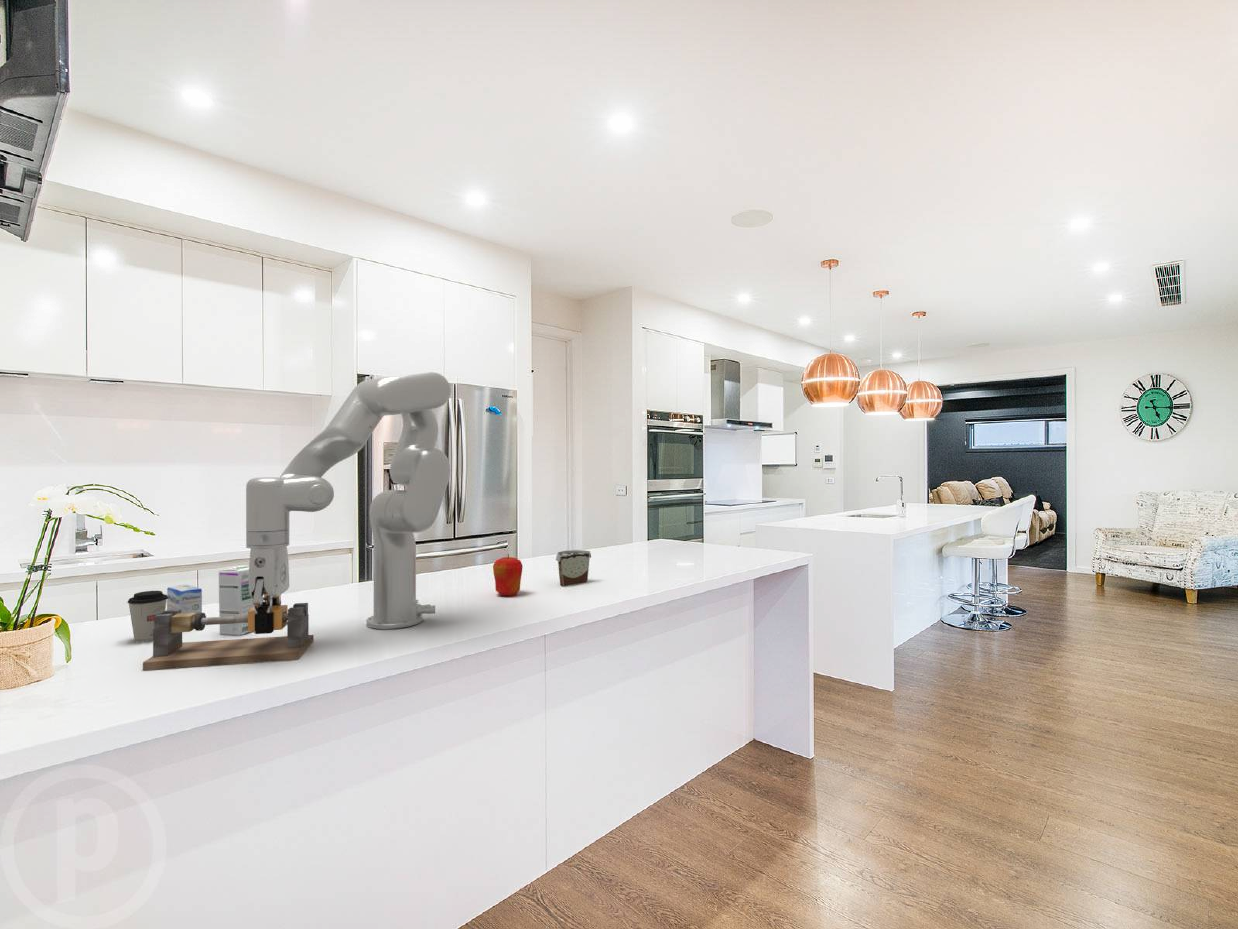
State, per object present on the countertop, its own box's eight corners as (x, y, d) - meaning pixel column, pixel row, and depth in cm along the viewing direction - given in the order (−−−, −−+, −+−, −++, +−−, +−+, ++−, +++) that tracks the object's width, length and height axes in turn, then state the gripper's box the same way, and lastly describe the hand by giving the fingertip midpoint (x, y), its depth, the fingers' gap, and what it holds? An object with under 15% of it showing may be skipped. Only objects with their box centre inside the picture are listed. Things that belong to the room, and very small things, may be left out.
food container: (579, 579, 197) (579, 548, 197) (591, 582, 192) (591, 551, 192) (548, 584, 189) (548, 552, 189) (559, 587, 184) (559, 554, 184)
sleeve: (287, 624, 124) (287, 605, 124) (281, 629, 120) (281, 609, 120) (254, 626, 122) (254, 606, 122) (247, 631, 118) (247, 611, 118)
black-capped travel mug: (118, 643, 127) (118, 596, 127) (148, 634, 134) (148, 589, 134) (147, 645, 126) (147, 597, 126) (176, 635, 133) (176, 590, 133)
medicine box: (166, 623, 142) (166, 587, 142) (187, 619, 146) (187, 584, 146) (180, 629, 138) (180, 591, 138) (202, 624, 142) (202, 587, 142)
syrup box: (240, 636, 133) (240, 570, 132) (218, 634, 134) (218, 569, 134) (261, 629, 138) (261, 565, 138) (239, 627, 139) (239, 564, 139)
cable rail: (313, 641, 129) (313, 599, 129) (298, 659, 117) (298, 613, 117) (173, 650, 122) (173, 605, 122) (142, 670, 111) (142, 621, 111)
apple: (488, 593, 175) (488, 553, 175) (515, 590, 180) (515, 550, 180) (499, 599, 168) (499, 557, 168) (527, 595, 173) (527, 554, 173)
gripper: (275, 544, 114) (275, 640, 114) (300, 533, 130) (300, 618, 130) (231, 545, 112) (231, 643, 112) (261, 534, 128) (261, 620, 128)
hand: (268, 629), depth 121 cm, fingers closed on sleeve, 4 cm apart
